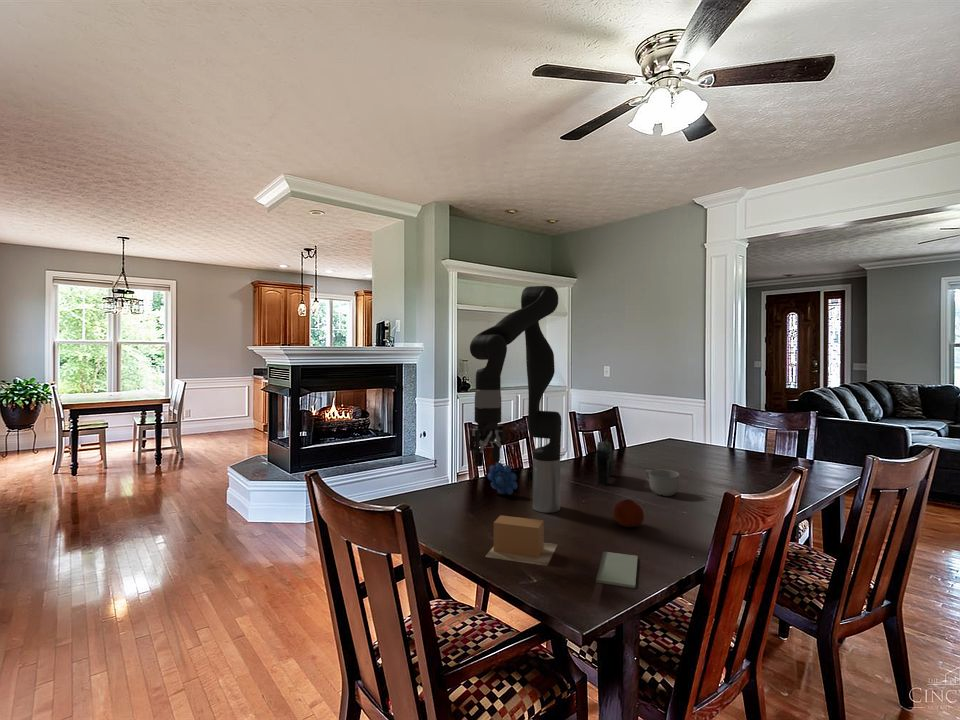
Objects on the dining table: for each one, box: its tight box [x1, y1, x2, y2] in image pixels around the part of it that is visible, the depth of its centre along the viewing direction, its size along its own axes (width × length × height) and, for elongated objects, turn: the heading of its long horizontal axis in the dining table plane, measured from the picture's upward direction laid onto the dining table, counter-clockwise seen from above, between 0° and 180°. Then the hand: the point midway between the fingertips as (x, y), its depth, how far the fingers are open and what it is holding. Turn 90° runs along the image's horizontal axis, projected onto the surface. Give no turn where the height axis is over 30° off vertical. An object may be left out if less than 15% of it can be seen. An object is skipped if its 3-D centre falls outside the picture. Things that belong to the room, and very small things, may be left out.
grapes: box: [487, 461, 518, 495], centre depth 183 cm, size 12×7×12 cm, turn 70°
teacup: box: [643, 468, 681, 497], centre depth 186 cm, size 14×11×8 cm
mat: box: [595, 550, 639, 589], centre depth 123 cm, size 17×20×1 cm
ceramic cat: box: [595, 432, 614, 486], centre depth 204 cm, size 20×6×20 cm, turn 158°
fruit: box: [612, 499, 645, 528], centre depth 151 cm, size 9×9×8 cm
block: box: [493, 514, 545, 558], centre depth 129 cm, size 6×12×8 cm, turn 71°
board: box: [485, 542, 559, 567], centre depth 129 cm, size 14×16×2 cm
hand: (487, 463), depth 137 cm, fingers open, 8 cm apart
